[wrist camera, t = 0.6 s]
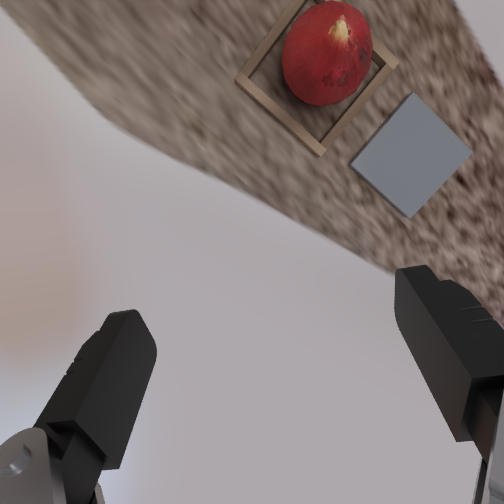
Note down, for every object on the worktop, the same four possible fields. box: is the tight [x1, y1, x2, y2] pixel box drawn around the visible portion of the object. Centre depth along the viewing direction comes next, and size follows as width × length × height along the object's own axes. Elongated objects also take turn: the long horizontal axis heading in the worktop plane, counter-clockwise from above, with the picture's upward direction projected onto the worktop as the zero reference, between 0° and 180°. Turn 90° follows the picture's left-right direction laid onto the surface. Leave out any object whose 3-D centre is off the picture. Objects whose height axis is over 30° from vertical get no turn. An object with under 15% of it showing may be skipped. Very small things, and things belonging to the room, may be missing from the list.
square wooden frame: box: [235, 0, 400, 157], centre depth 24 cm, size 9×9×1 cm
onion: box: [281, 0, 373, 106], centre depth 21 cm, size 6×6×8 cm
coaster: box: [348, 92, 472, 219], centre depth 26 cm, size 7×7×1 cm
